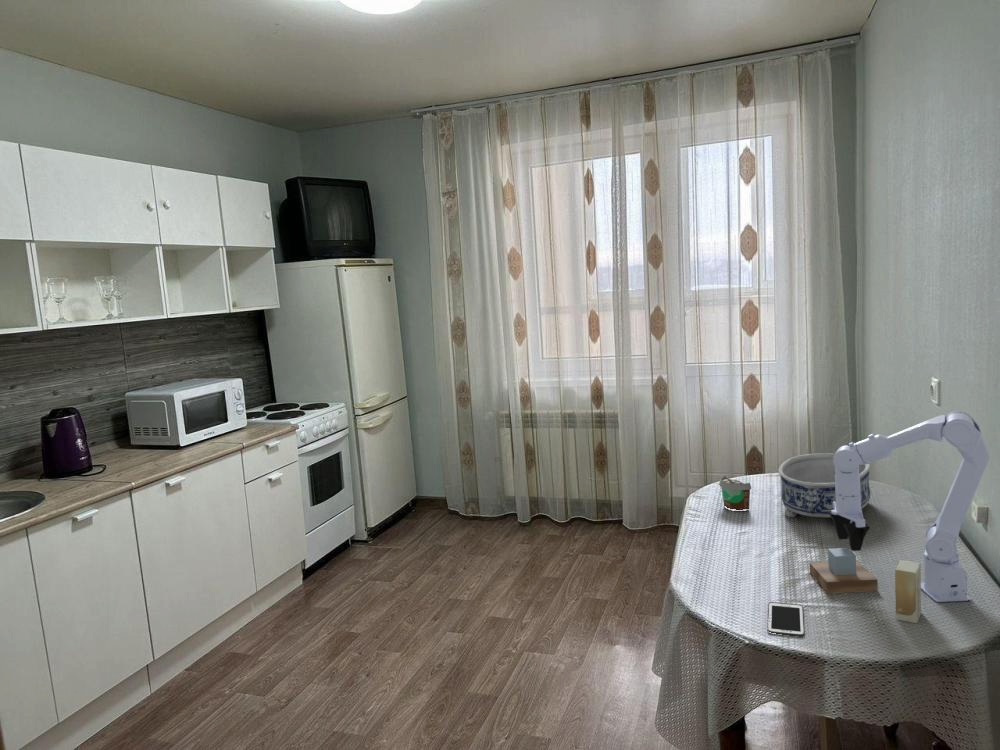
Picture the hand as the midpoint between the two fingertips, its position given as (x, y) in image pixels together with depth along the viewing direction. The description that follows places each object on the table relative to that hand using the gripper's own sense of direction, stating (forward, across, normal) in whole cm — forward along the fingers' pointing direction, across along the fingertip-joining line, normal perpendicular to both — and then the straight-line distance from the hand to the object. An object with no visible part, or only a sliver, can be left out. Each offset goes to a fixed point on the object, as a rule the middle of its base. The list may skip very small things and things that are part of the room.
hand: (849, 544), depth 178 cm
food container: (+9, -58, -15) cm, 60 cm away
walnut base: (+9, +1, -2) cm, 10 cm away
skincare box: (+10, +20, +4) cm, 23 cm away
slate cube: (+6, +1, -2) cm, 7 cm away
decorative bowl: (+10, -52, +14) cm, 55 cm away
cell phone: (+10, +19, -23) cm, 31 cm away
